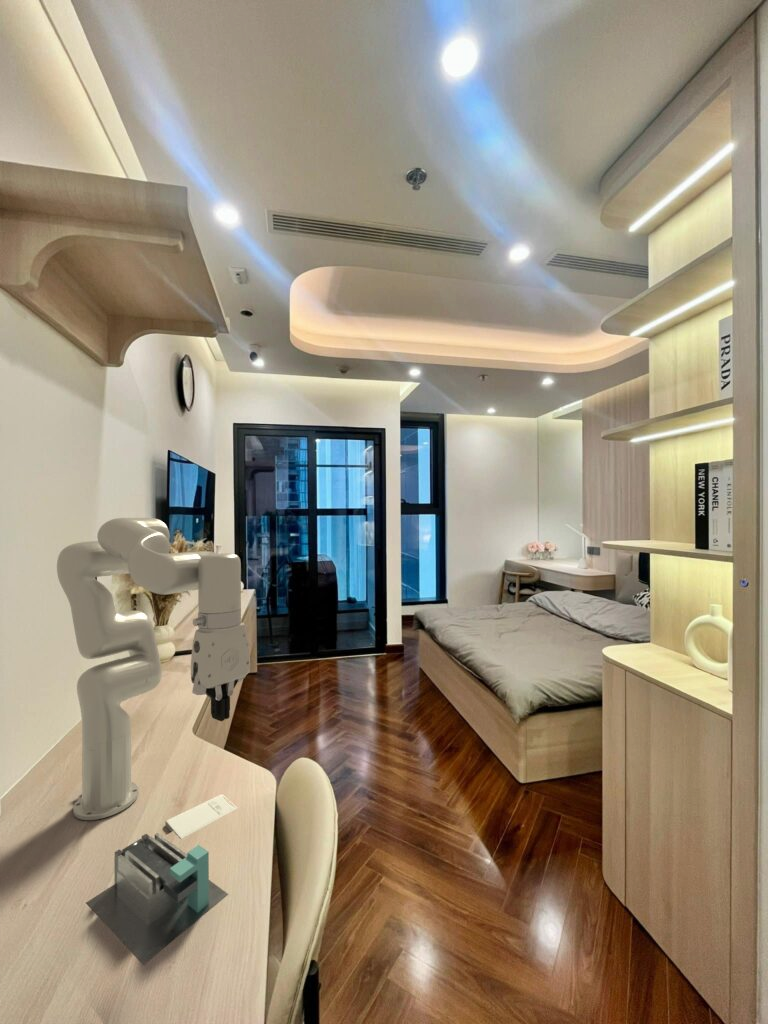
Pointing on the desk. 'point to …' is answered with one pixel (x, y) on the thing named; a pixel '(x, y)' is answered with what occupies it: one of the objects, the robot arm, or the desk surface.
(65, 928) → the desk surface
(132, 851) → the dark grey flat bar
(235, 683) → the robot arm
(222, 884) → the desk surface
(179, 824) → the external hard drive
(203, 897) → the clip
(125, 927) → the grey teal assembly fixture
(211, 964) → the desk surface
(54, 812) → the desk surface
